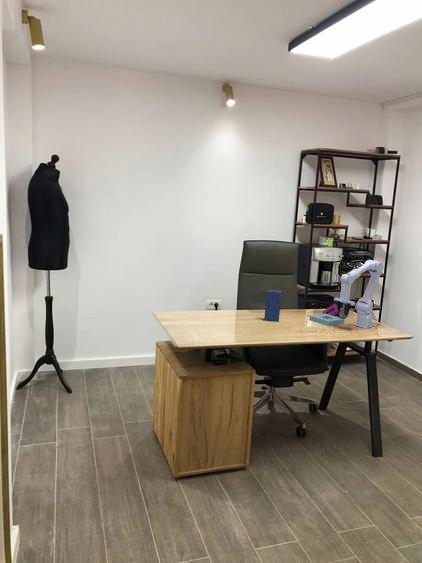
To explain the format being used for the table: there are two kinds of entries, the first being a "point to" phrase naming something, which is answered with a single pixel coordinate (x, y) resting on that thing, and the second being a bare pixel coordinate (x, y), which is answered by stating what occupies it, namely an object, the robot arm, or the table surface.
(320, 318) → the plate
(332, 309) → the purple faceted block
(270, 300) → the electronic device
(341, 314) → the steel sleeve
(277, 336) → the table surface
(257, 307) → the table surface
